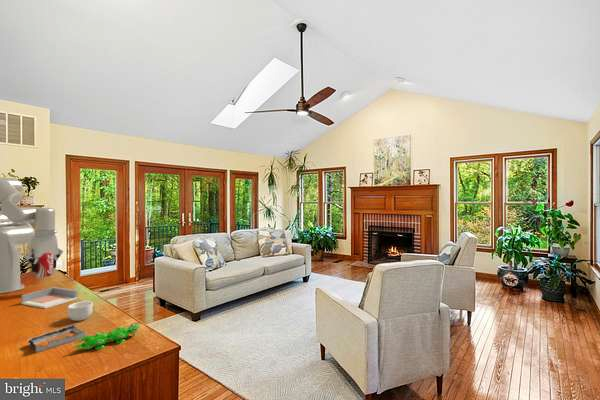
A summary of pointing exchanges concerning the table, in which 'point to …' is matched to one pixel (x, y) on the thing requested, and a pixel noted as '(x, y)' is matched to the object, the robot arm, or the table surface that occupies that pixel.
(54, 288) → the open box
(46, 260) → the soda can
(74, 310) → the teacup
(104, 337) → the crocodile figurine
